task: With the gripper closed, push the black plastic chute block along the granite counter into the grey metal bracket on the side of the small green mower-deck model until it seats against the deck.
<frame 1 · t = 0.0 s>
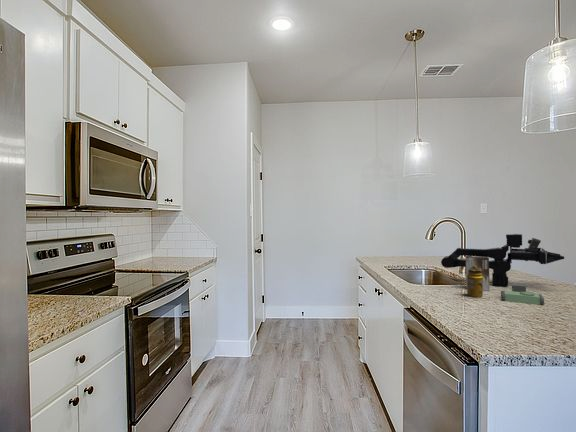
hand: (562, 256, 157), 17 cm above the countertop, tool horizontal, fingers open, 9 cm apart
mower deck: (520, 299, 143), on the countertop
coffee box: (477, 289, 162), on the countertop
condiment: (472, 296, 149), on the countertop
chute: (518, 294, 152), on the countertop
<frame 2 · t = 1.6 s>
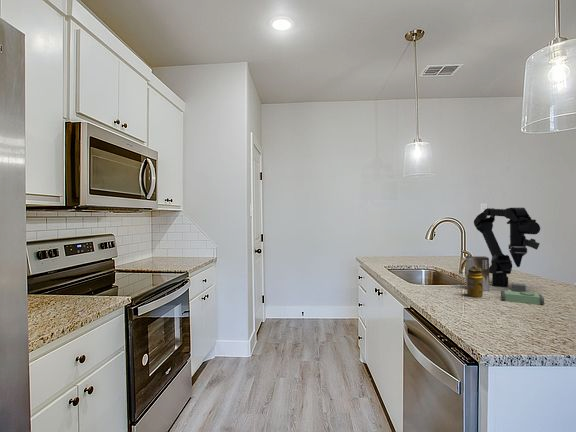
hand: (517, 265, 158), 12 cm above the countertop, tool pointing down, fingers open, 8 cm apart
nothing on the countertop moved.
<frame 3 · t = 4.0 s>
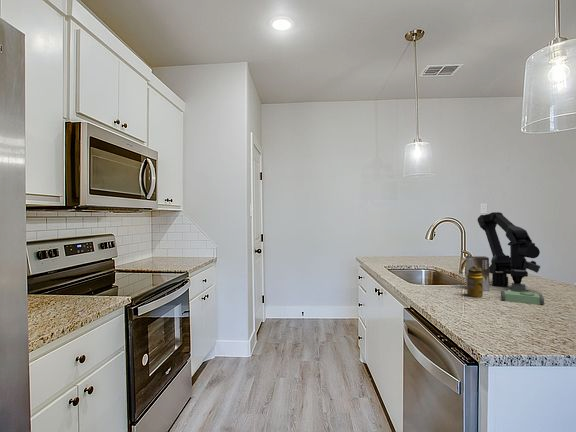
hand: (517, 288, 157), 2 cm above the countertop, tool pointing down, fingers closed
chute: (518, 293, 153), on the countertop, touching gripper
everything else where it was.
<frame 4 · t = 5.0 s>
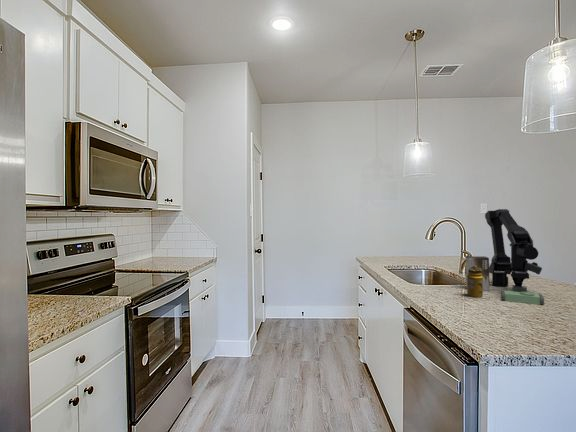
hand: (518, 290, 152), 2 cm above the countertop, tool pointing down, fingers closed
chute: (519, 296, 148), on the countertop, touching gripper
everything else where it was.
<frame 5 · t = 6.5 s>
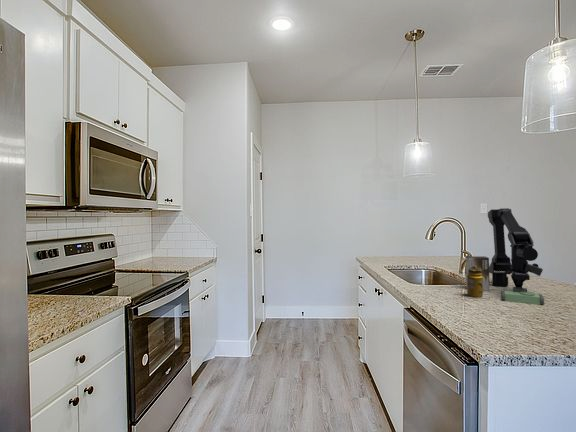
hand: (519, 292, 149), 1 cm above the countertop, tool pointing down, fingers closed
chute: (519, 297, 146), on the countertop
everything else where it was.
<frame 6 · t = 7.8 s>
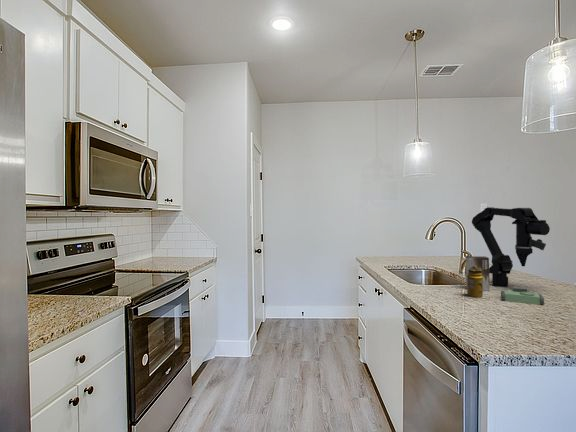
hand: (523, 266, 158), 12 cm above the countertop, tool pointing down, fingers closed
nothing on the countertop moved.
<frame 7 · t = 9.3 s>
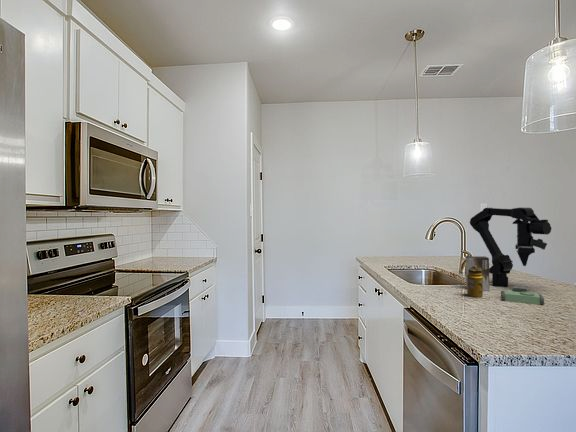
hand: (524, 265, 158), 12 cm above the countertop, tool pointing down, fingers closed
at the end: chute 1.9 cm from the target spot, on the countertop; chute tilted 0° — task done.
